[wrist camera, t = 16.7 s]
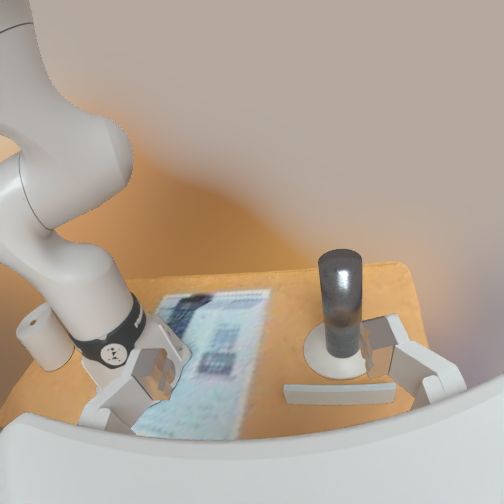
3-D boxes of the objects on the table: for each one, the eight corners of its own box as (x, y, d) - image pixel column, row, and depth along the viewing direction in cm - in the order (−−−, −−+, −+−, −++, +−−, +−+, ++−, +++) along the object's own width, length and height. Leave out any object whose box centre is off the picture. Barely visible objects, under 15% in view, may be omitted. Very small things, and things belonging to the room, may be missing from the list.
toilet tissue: (38, 376, 46) (10, 344, 41) (45, 343, 56) (23, 312, 51) (73, 364, 48) (45, 329, 43) (77, 330, 58) (55, 297, 53)
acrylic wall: (286, 403, 35) (282, 390, 33) (287, 397, 35) (284, 384, 34) (392, 402, 30) (396, 389, 28) (392, 396, 31) (396, 382, 29)
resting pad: (288, 346, 44) (288, 343, 43) (346, 309, 47) (345, 306, 47) (338, 395, 34) (338, 392, 34) (398, 345, 38) (398, 343, 37)
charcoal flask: (321, 355, 40) (312, 272, 32) (331, 330, 43) (324, 247, 36) (356, 360, 37) (357, 276, 30) (363, 334, 41) (364, 250, 34)
